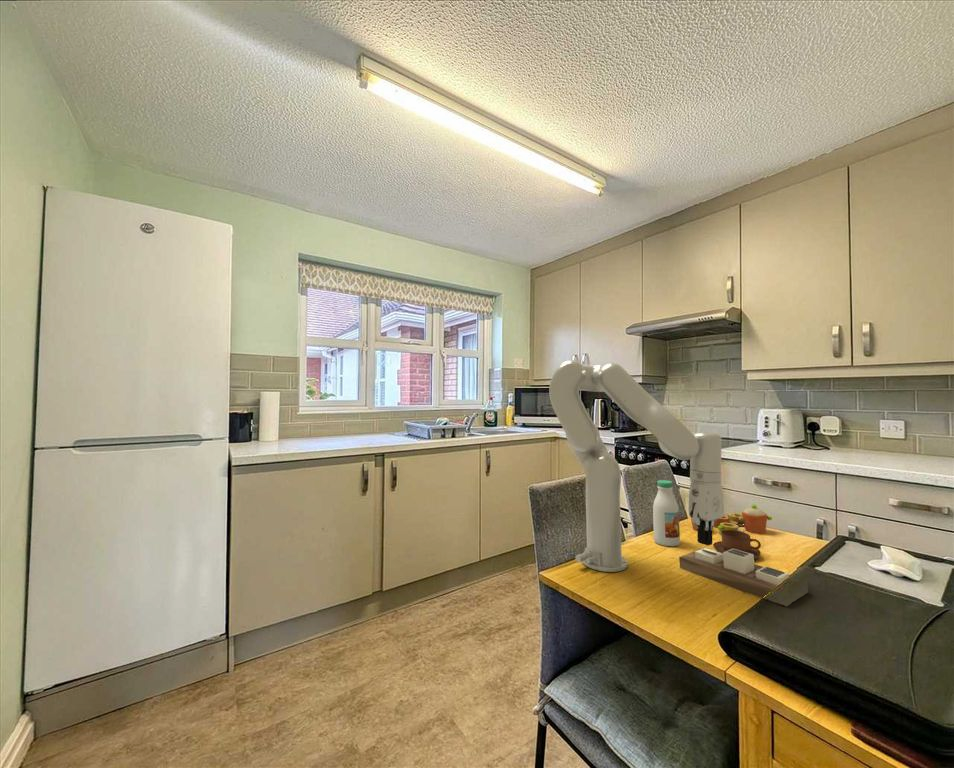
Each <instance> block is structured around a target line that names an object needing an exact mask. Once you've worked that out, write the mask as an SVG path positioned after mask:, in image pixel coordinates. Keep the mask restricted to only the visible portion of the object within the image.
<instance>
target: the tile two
mask: <svg viewBox="0 0 954 768" xmlns="http://www.w3.org/2000/svg"><path fill="white" fill-rule="evenodd" d="M723 561H724V568H727V569H730V570H733V571H736V572H739V573H742V574H745V575H746V574H748V573H750V572H752V571H754V564H755V558H754V554H750V553H747V552H744V551H740V550H737V549H730V550H728V551H725V552H723Z"/></svg>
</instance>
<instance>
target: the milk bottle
mask: <svg viewBox="0 0 954 768" xmlns="http://www.w3.org/2000/svg"><path fill="white" fill-rule="evenodd" d="M673 486H674V485H673V482H672V481H671V480H666V479H665V480H664V479H663V480H662V479H660V480H657V489H658V491H657V494H656V496H655V498H654V501H653V506H652V515H653V516H652V519H653V520H652V521H653V540H654V542H655V543H656V544H658V545H661V546H664V547H677V546H679V545H680V543H681V532H680V530H681V529H680V512H679V511H680V509H679V505H678V501H677V500H676V498H675V495H674V494H673V493H674V492H673V489H674V488H673Z"/></svg>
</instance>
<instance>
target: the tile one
mask: <svg viewBox="0 0 954 768" xmlns="http://www.w3.org/2000/svg"><path fill="white" fill-rule="evenodd" d="M703 548H704V547H703ZM700 549H701V550H699V549H697V550H698V551H697V550H695V551H696V552H695V558H697V559H700V560H703V561H706V562H709V563H712V564H717V563H719V562H722V561H723V553H720V552H718V551H717V550H712V549H709V548H706V547H705V548H704V549H702V548H700Z"/></svg>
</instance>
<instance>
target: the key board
mask: <svg viewBox="0 0 954 768" xmlns="http://www.w3.org/2000/svg"><path fill="white" fill-rule="evenodd" d="M701 549H704V547H702V548H699V549H697V550H693V551H692V552H689V553H686V554H683V555H681V556H679V557H678V560H679V568H680V569H681V570H685V571H687V572H689V573H693V574H695V575H698V576H701V577H702V578H703V577H704V578H706V579H708V580H712V581H715V582H717V583H719V584H722V585H725V586H727V587H731V588H732V589H736V590H739V591H742V592H744V593H747V594H748V595H751V596H755V597H757V598H760V599H763V597H764V596H765V595H767V594H768V593H769V592H771V591H772V590H774V589H775V588H776V587H777V586H778V585H775V584H772V583H769V582H766V581H763V580H760V579H757V578H756V571H757V570H759V569H761V568H763V567H764V566H762V565H759V564H756V563H754V571H752V572H750V573H748V574H746V575H745V574H742V573H739V572H736V571H733V570H730V569H727V568H724V561H722V562H719V563H717V564H712V563H709V562H706V561H703V560H700V559H697V558H695V552H696V551H698V550H701ZM790 575H791V574H789V576H790Z"/></svg>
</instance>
